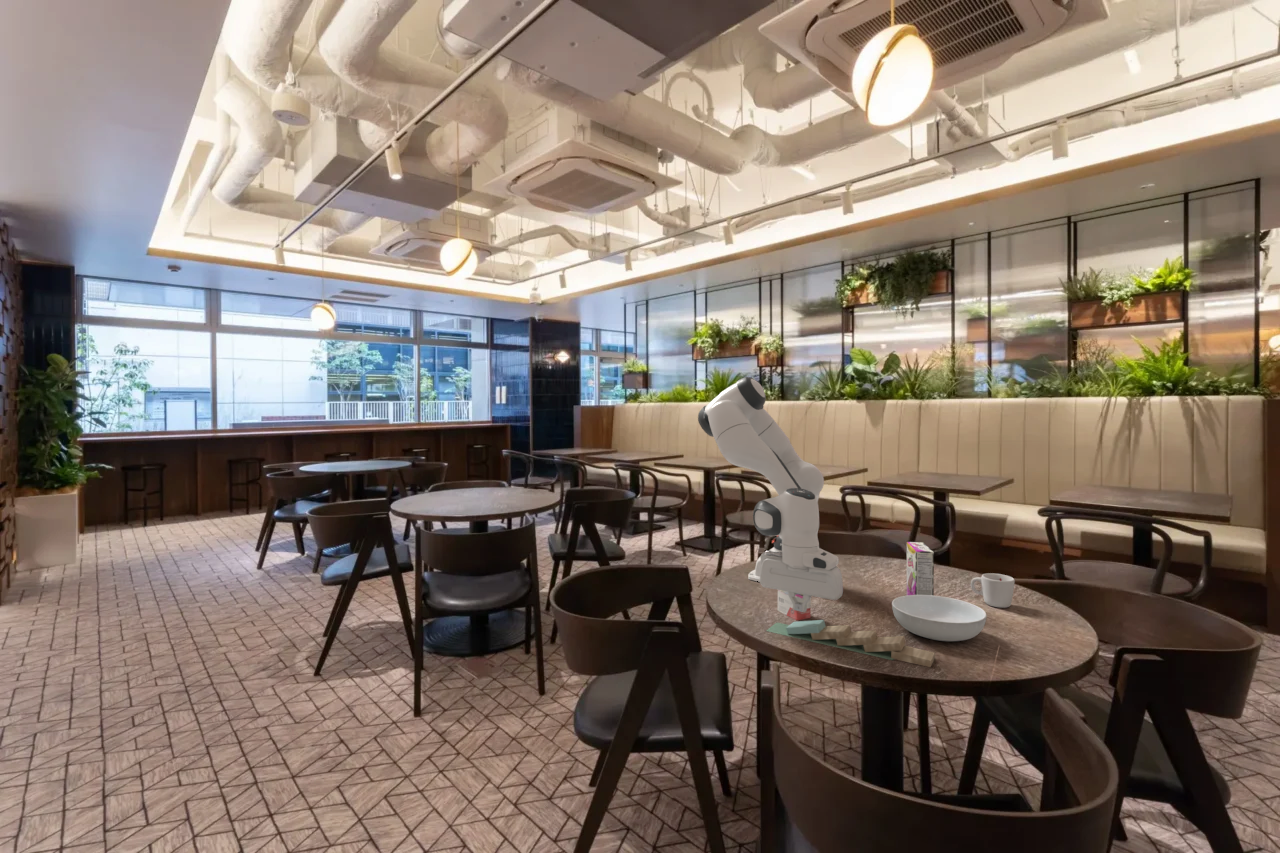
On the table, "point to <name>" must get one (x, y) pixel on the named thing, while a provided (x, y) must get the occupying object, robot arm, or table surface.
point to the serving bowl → (939, 617)
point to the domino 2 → (832, 632)
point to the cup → (995, 589)
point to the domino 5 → (914, 656)
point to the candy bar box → (920, 569)
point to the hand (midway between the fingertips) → (799, 610)
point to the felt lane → (827, 641)
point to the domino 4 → (886, 644)
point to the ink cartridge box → (787, 606)
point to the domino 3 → (858, 638)
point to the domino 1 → (805, 627)
